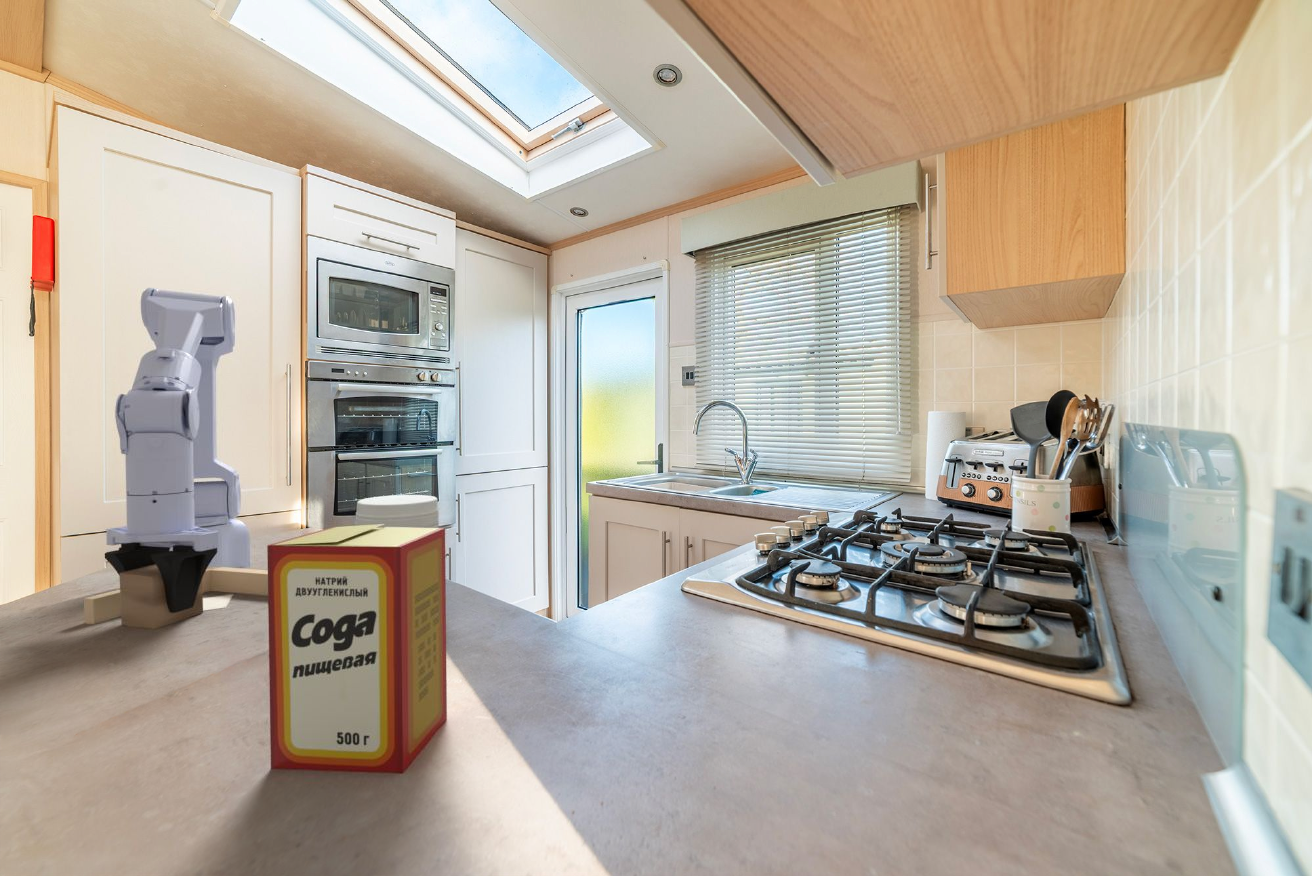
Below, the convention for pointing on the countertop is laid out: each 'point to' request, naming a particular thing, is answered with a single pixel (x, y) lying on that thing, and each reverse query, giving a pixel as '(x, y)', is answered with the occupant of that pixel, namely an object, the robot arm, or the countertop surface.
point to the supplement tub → (398, 511)
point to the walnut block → (150, 600)
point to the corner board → (212, 580)
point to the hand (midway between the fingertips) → (163, 608)
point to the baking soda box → (356, 647)
